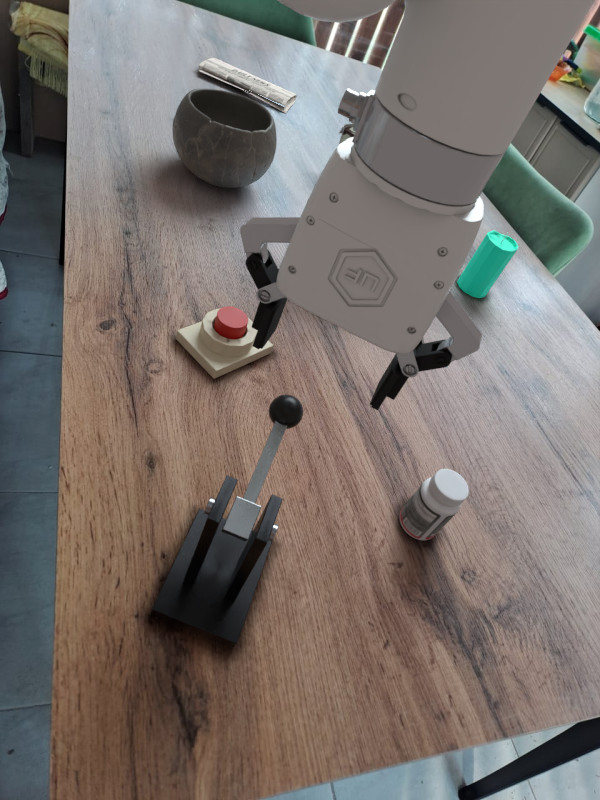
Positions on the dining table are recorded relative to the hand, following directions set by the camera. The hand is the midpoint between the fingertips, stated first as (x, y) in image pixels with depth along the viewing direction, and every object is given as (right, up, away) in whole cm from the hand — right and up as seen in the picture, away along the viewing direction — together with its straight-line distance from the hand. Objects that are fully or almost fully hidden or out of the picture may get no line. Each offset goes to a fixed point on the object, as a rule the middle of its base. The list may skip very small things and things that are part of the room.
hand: (320, 367), depth 43 cm
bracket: (-10, -19, +11) cm, 24 cm away
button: (-11, +7, +30) cm, 33 cm away
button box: (-12, +5, +32) cm, 35 cm away
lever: (-5, -8, +7) cm, 12 cm away
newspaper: (-14, +72, +93) cm, 118 cm away
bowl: (-17, +38, +61) cm, 74 cm away
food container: (+10, +44, +78) cm, 89 cm away
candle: (+30, +18, +63) cm, 72 cm away
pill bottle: (+12, -17, +23) cm, 31 cm away
